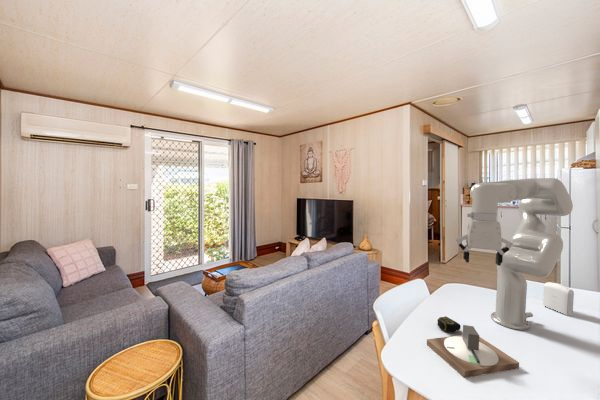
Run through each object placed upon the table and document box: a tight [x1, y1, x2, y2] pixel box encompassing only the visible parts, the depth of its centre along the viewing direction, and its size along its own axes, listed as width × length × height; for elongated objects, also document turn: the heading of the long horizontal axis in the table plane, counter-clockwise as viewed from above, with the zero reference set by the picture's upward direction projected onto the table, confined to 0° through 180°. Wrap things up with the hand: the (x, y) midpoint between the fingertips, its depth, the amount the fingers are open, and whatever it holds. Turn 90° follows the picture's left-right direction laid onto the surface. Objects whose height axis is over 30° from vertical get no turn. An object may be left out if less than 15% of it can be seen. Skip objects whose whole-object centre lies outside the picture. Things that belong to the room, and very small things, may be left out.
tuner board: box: [426, 334, 520, 379], centre depth 85 cm, size 20×16×2 cm
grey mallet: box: [462, 324, 480, 363], centre depth 82 cm, size 10×3×6 cm, turn 163°
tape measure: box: [437, 316, 461, 333], centre depth 101 cm, size 7×7×4 cm
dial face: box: [444, 335, 499, 366], centre depth 85 cm, size 15×15×1 cm
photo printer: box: [542, 281, 575, 316], centre depth 117 cm, size 10×4×12 cm, turn 13°
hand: (482, 263), depth 95 cm, fingers open, 9 cm apart
